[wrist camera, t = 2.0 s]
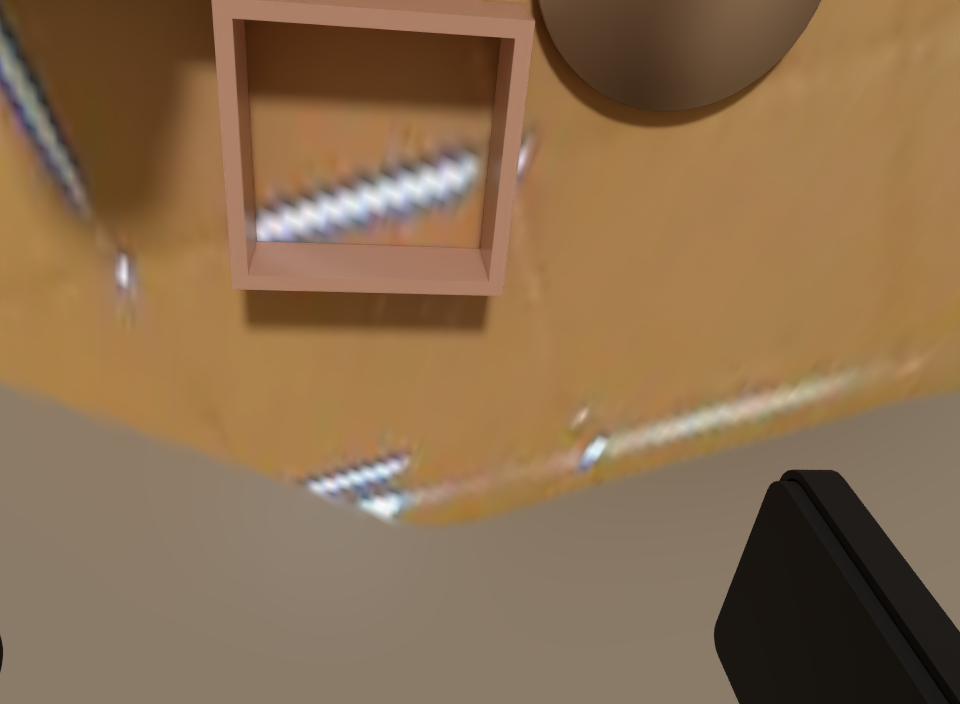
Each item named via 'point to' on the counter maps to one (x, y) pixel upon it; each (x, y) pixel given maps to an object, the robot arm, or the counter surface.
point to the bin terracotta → (373, 268)
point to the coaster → (673, 46)
